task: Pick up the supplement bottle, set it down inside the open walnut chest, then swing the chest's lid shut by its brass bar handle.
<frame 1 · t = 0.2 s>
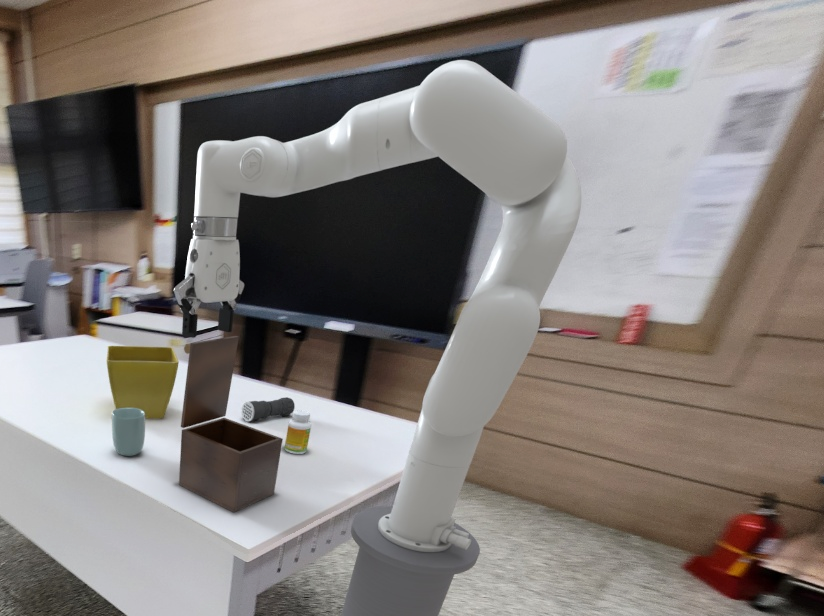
hand: (207, 333, 98), 30 cm above the table, tool pointing down, fingers open, 9 cm apart
flower pot: (140, 412, 151), on the table
cup: (128, 453, 125), on the table
chest: (225, 489, 109), on the table
supplement bottle: (295, 451, 129), on the table
flashlight: (267, 418, 150), on the table
lid: (200, 378, 104), point 21 cm above the table, hinge at 85.0°
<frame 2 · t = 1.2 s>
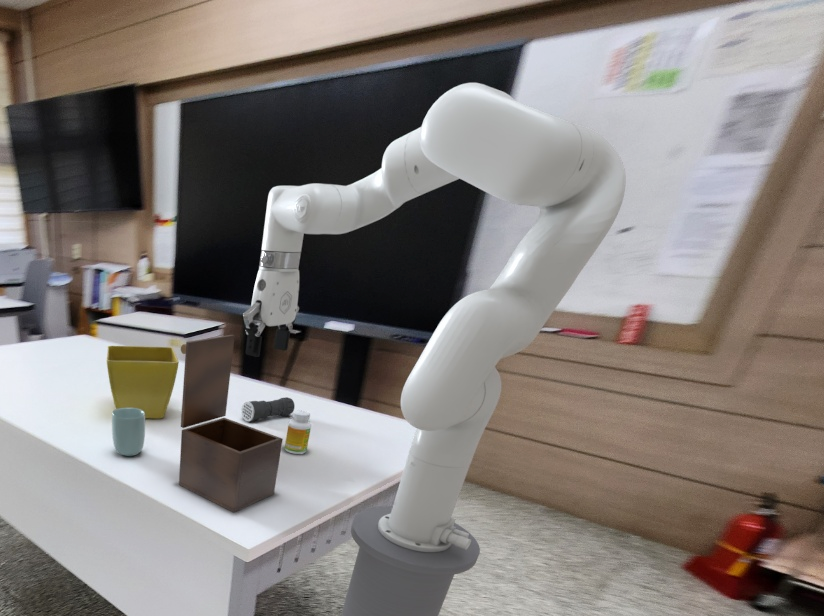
hand: (266, 352, 109), 25 cm above the table, tool pointing down, fingers open, 9 cm apart
lid: (198, 378, 105), point 21 cm above the table, hinge at 88.8°
everything else where it was.
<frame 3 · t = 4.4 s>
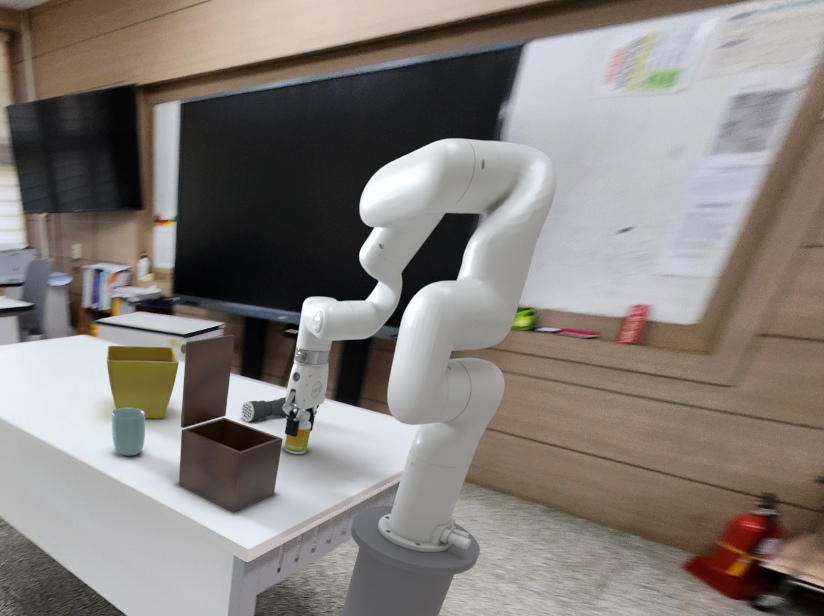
hand: (298, 431, 126), 5 cm above the table, tool pointing down, fingers closed on supplement bottle, 5 cm apart
supplement bottle: (295, 451, 129), on the table, touching gripper
everything else where it was.
when the fingers open (9 cm above the table, at t = 12.0 s): supplement bottle drops 3 cm, resting on chest.
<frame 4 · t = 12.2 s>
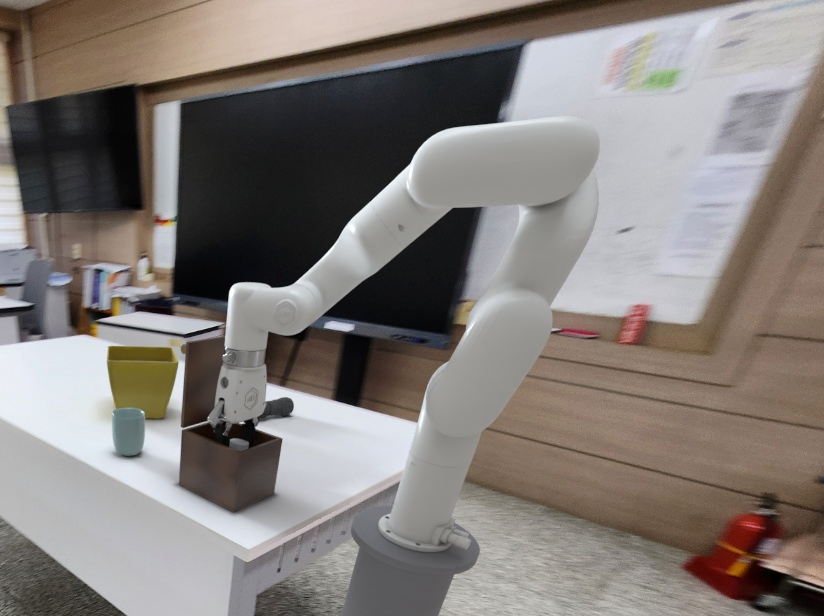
hand: (234, 448, 103), 10 cm above the table, tool pointing down, fingers open, 6 cm apart
supplement bottle: (230, 487, 108), point 1 cm above the table, touching chest, gripper
everything else where it was.
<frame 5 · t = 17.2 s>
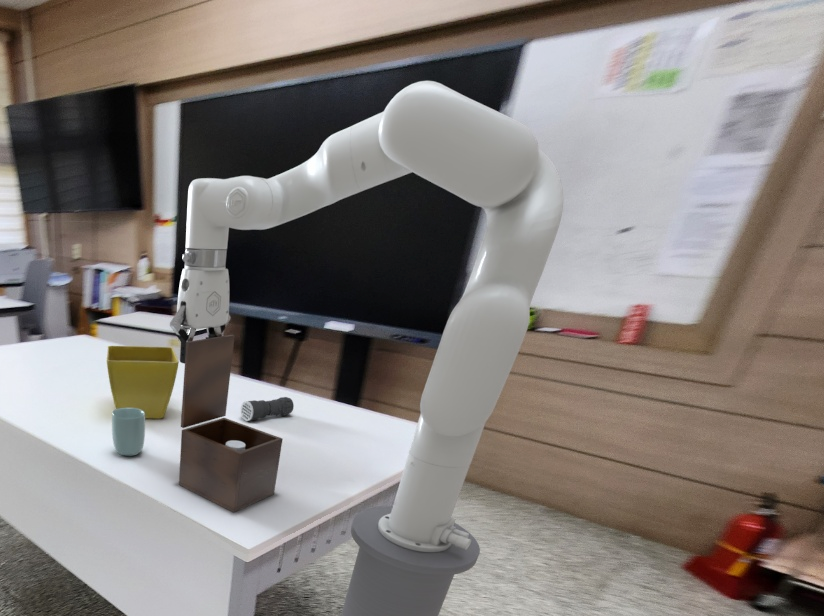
hand: (198, 360, 103), 25 cm above the table, tool pointing down, fingers closed on lid, 6 cm apart
supplement bottle: (230, 488, 108), point 1 cm above the table, touching chest
lid: (198, 378, 105), point 21 cm above the table, hinge at 88.8°, touching gripper
everything else where it was.
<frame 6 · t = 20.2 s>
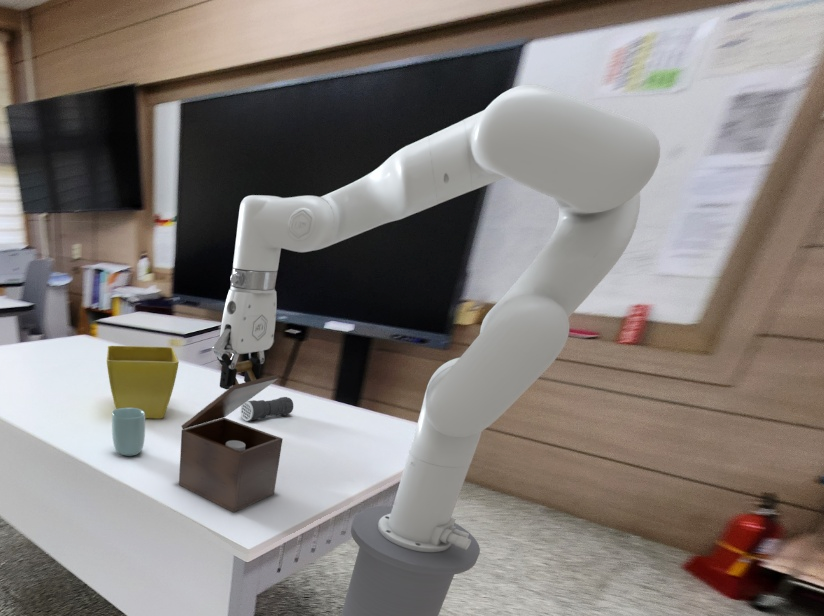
hand: (239, 385, 97), 22 cm above the table, tool pointing down, fingers closed on lid, 6 cm apart
lid: (223, 391, 101), point 20 cm above the table, hinge at 41.5°, touching gripper
everything else where it was.
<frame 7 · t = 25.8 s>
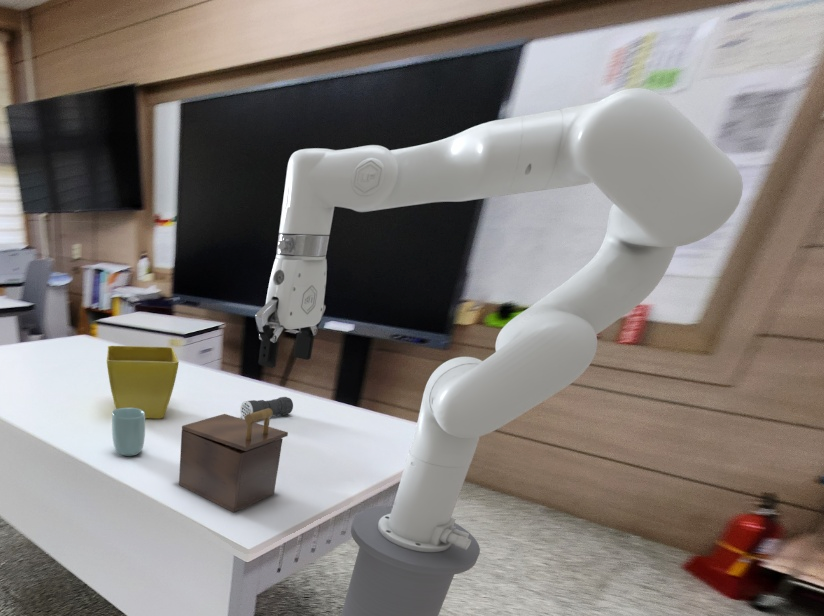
hand: (284, 361, 88), 28 cm above the table, tool pointing down, fingers open, 9 cm apart
lid: (234, 419, 101), point 16 cm above the table, hinge at 2.6°
everything else where it was.
at the end: supplement bottle inside the target area in the chest (1.1 cm from its centre), point 0.6 cm above the chest's base; lid at +3° (first picture: +85°) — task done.
